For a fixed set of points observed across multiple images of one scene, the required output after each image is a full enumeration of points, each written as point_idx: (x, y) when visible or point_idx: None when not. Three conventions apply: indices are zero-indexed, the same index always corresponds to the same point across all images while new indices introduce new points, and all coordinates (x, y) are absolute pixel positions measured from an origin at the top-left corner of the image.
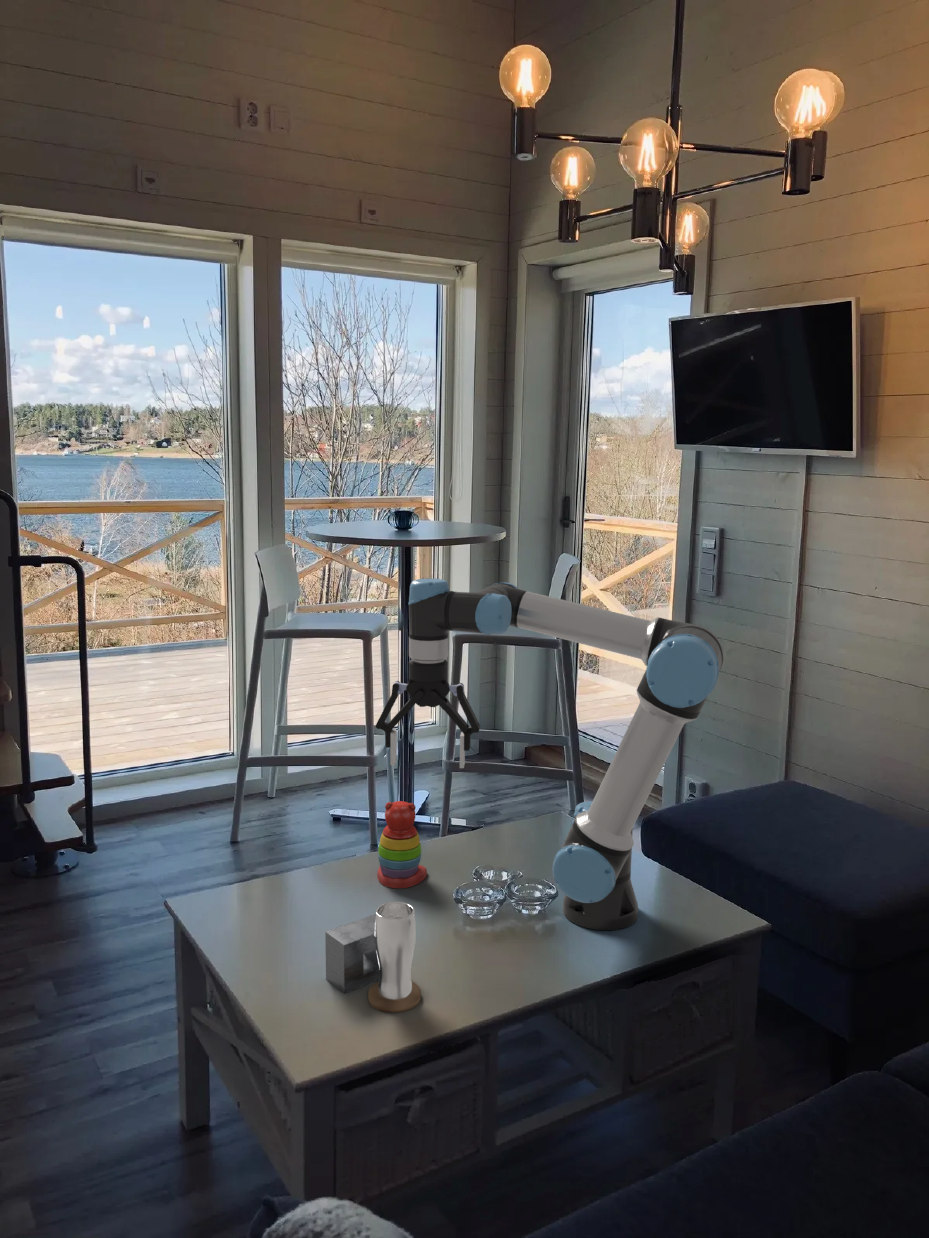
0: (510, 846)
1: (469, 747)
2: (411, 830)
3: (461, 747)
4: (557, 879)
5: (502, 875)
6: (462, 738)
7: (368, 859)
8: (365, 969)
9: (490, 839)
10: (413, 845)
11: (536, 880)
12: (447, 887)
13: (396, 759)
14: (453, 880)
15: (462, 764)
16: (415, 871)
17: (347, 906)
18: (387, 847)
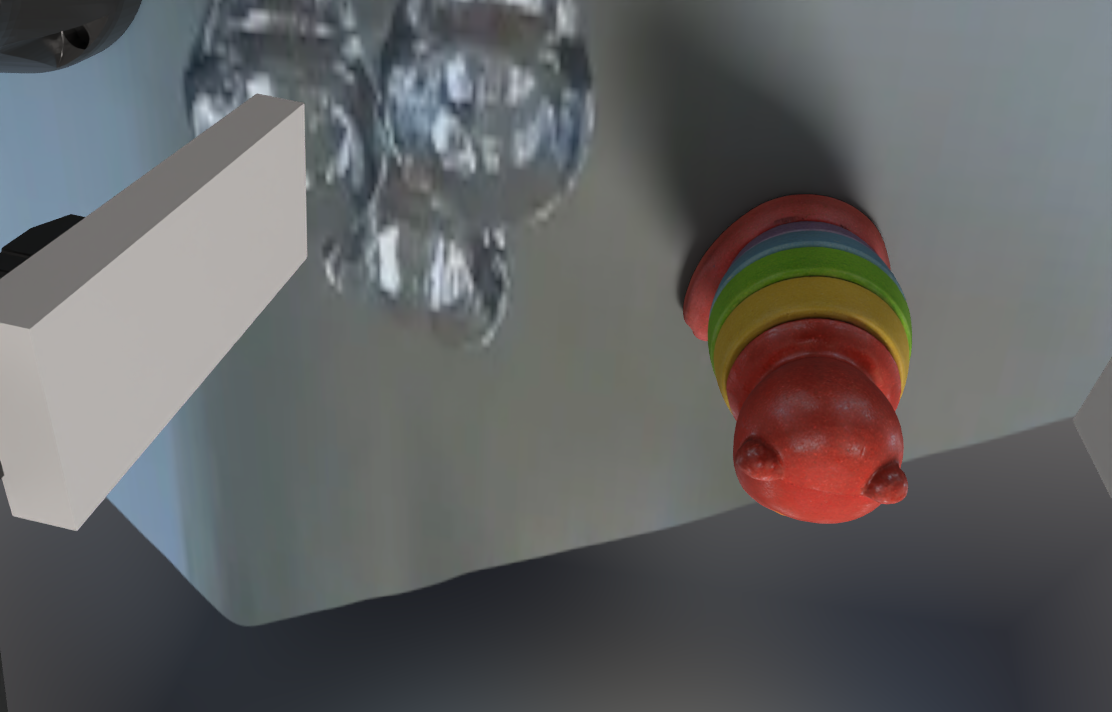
0: (372, 463)
1: (28, 234)
2: (758, 369)
3: (134, 218)
4: None
5: (396, 262)
6: (13, 289)
7: None
8: None
9: (439, 516)
10: (752, 300)
11: None
12: (611, 185)
13: (1080, 431)
14: (583, 241)
15: (246, 110)
16: (739, 252)
17: (1082, 44)
18: (883, 301)
